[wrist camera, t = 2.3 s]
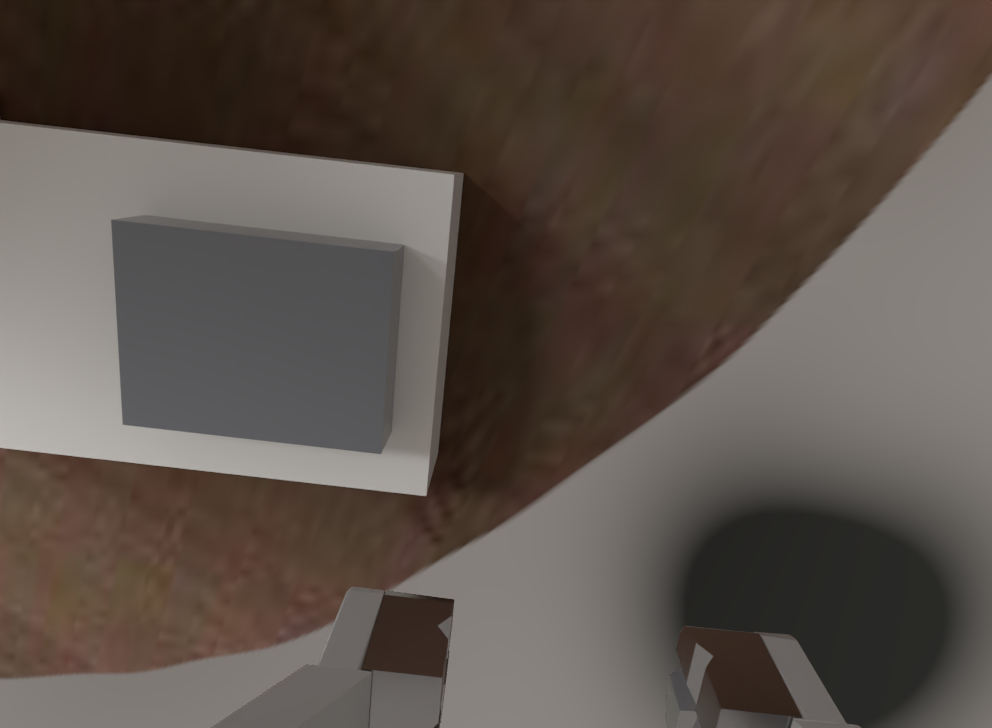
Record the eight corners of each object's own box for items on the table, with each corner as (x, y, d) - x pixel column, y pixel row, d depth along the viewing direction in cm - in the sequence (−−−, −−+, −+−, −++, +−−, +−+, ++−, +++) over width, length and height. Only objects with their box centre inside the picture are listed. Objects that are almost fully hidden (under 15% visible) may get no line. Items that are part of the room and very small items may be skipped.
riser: (33, 407, 30) (-39, 443, 26) (5, 120, 26) (-82, 113, 22) (437, 453, 30) (426, 496, 26) (463, 172, 26) (454, 174, 22)
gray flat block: (152, 404, 25) (122, 424, 23) (144, 215, 23) (111, 219, 21) (391, 432, 25) (381, 454, 23) (404, 244, 23) (394, 251, 21)
